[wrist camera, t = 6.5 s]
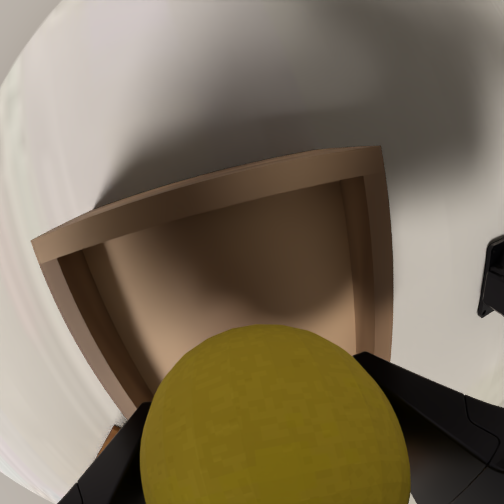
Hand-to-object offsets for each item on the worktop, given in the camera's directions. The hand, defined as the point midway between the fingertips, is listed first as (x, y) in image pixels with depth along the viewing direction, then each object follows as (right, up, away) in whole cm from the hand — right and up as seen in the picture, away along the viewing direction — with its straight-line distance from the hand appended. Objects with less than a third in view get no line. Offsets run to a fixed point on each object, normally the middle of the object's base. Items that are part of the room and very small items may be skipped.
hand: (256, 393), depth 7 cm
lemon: (0, +1, +2) cm, 2 cm away
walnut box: (-1, +2, +7) cm, 8 cm away
